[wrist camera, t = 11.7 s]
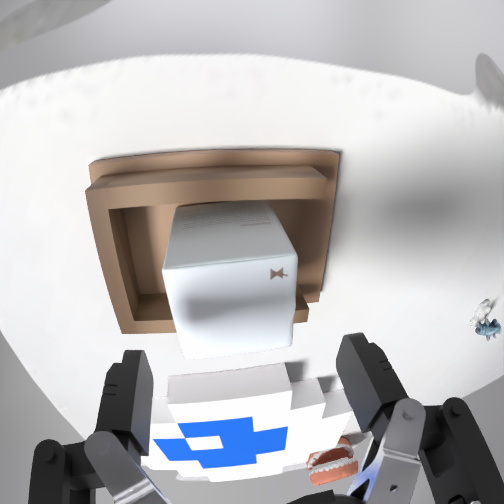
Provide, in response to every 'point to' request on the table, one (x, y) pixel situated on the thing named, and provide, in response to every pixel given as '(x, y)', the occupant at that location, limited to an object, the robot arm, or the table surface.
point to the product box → (230, 279)
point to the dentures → (337, 469)
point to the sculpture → (487, 326)
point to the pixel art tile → (242, 423)
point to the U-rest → (195, 193)
